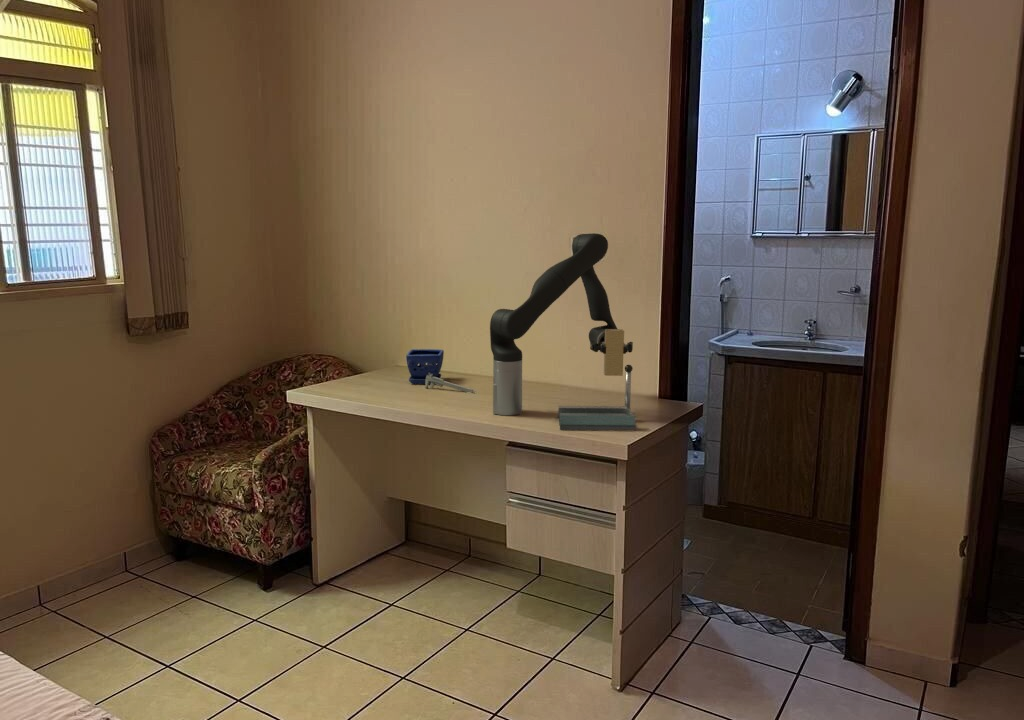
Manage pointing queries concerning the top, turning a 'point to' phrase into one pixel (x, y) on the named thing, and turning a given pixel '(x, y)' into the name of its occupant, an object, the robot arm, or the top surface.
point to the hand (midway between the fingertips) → (614, 350)
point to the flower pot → (424, 364)
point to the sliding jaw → (604, 409)
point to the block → (614, 352)
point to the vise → (596, 421)
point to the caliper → (444, 383)
